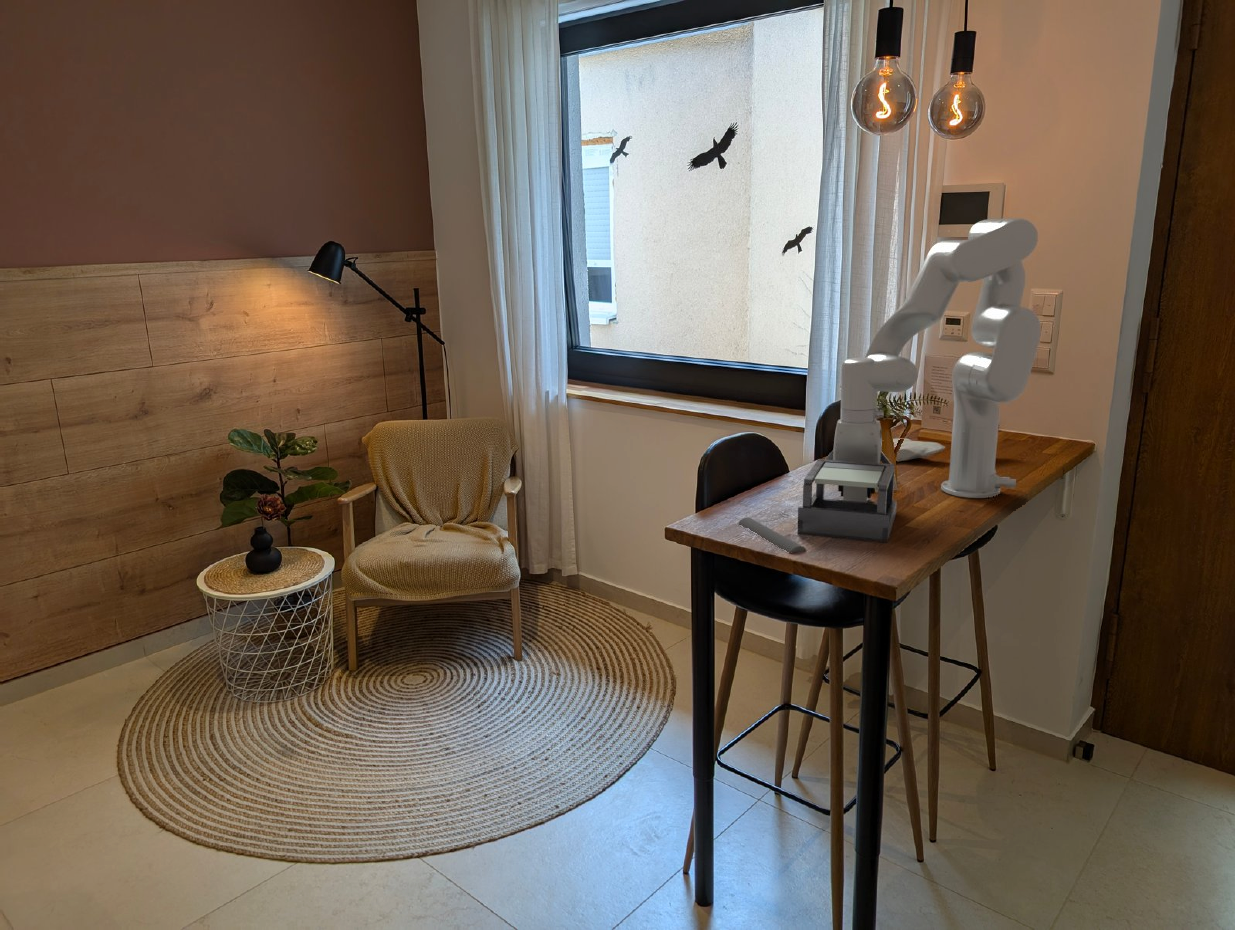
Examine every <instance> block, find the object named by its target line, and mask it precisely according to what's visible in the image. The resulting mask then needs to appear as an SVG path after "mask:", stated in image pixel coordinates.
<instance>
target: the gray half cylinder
mask: <svg viewBox="0 0 1235 930" xmlns="http://www.w3.org/2000/svg"><path fill="white" fill-rule="evenodd" d="M738 524H739V525H742V526H743V527H745V528H749V529H750V530H751V531H753V532H755V533H757V534H758V535H760V536H761V537H762V538H765V539H766V540H768V541H769V542H771V543H773V544H774V545H777V546H778V547H779V548H778V547H777V548H778V549H780V548H781V549H784V550H786V551H787V552H789V554H791V553H790V552H796V553H799V552H805V551H807V548H806V547H804V546H802V545H801V544H799V543H797V542H796V541H793V540H791V539H790V538H787V537H786V536H784V535H782V534H780V533H778V532H776V531H775V530H773V529H772V528H769V527H768V526H766V525H764V524H762V523H760V522H758V521H756V520H755V519H752V518H751V517H744V518H741V519H740V520H739V521H738ZM739 525H738V526H739ZM762 538H761V539H762ZM769 542H768V543H769ZM771 543H770V544H771ZM773 544H772V545H773ZM774 545H773V546H774ZM781 549H780V550H781ZM787 552H786V553H787Z"/></svg>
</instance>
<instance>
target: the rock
mask: <svg viewBox="0 0 1235 930" xmlns="http://www.w3.org/2000/svg"><path fill="white" fill-rule="evenodd" d="M892 439H893V442H894V447H896V446H897V443H898V440H900V439H901V438H892ZM903 439H904V441H903V443H902V444H901V447H900V449H899V451H898V452H897V462H896V463H898V462H902V461H903V462H905V461H906V462H907V461H910V460H913V459H919V458H927V457H929V456H932V455H935V454H937V453H939V452H941V451H943V450H944V449H946V446H945V445H942V444H940V443H939V442H934V441H918V440H911V439H909V438H903Z"/></svg>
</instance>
